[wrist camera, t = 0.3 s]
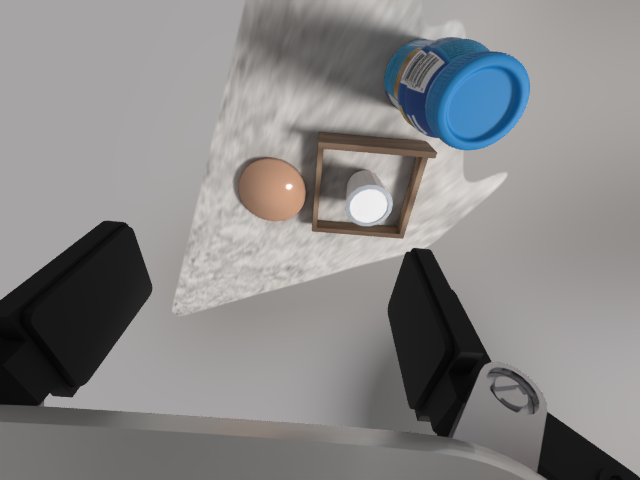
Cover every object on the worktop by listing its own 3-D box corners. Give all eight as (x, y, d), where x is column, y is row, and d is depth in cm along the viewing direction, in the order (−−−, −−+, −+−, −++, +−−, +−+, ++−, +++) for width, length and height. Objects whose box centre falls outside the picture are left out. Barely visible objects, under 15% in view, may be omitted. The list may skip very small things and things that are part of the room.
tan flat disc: (237, 154, 44) (235, 157, 43) (307, 160, 44) (307, 163, 43) (242, 215, 50) (241, 218, 49) (304, 220, 50) (303, 223, 49)
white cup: (345, 207, 48) (347, 229, 43) (340, 169, 45) (342, 188, 39) (385, 202, 48) (393, 224, 42) (384, 163, 44) (393, 182, 38)
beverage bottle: (444, 25, 34) (552, 11, 17) (451, 98, 38) (542, 141, 22) (375, 55, 36) (415, 68, 19) (389, 121, 40) (432, 176, 24)
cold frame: (319, 132, 41) (318, 142, 37) (426, 141, 42) (437, 152, 38) (312, 223, 51) (311, 239, 46) (400, 230, 51) (406, 247, 47)
